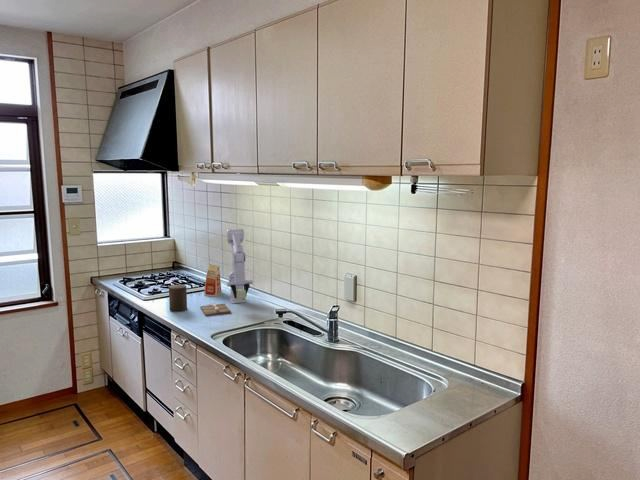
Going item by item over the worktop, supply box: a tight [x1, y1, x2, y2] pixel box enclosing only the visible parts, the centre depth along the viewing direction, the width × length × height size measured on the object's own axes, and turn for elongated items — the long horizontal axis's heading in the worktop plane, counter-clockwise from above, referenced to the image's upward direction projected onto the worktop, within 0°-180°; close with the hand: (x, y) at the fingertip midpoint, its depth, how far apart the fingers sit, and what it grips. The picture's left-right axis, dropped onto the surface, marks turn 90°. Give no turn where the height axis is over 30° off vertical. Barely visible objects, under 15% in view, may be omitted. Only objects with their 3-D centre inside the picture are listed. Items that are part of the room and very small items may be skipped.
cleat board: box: [200, 302, 232, 317], centre depth 275 cm, size 16×14×3 cm
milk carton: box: [204, 263, 222, 297], centre depth 308 cm, size 9×9×20 cm
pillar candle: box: [168, 284, 188, 313], centre depth 276 cm, size 10×10×15 cm
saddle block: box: [235, 288, 247, 302], centre depth 273 cm, size 6×5×6 cm
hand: (240, 297), depth 273 cm, fingers closed on saddle block, 5 cm apart
